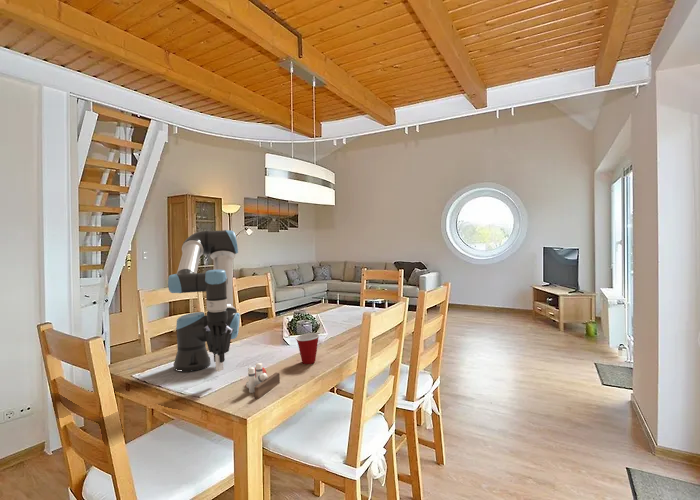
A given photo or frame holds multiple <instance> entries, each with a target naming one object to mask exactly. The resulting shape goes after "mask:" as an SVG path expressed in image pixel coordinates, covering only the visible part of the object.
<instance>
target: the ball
mask: <svg viewBox="0 0 700 500" xmlns="http://www.w3.org/2000/svg"><path fill="white" fill-rule="evenodd" d="M254 368H255V378H256V366H255V367H254ZM262 369H263V370H262V372H263V373H266V374H267V370H266V369H265V367H263V366H262ZM267 375H268V374H267Z"/></svg>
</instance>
